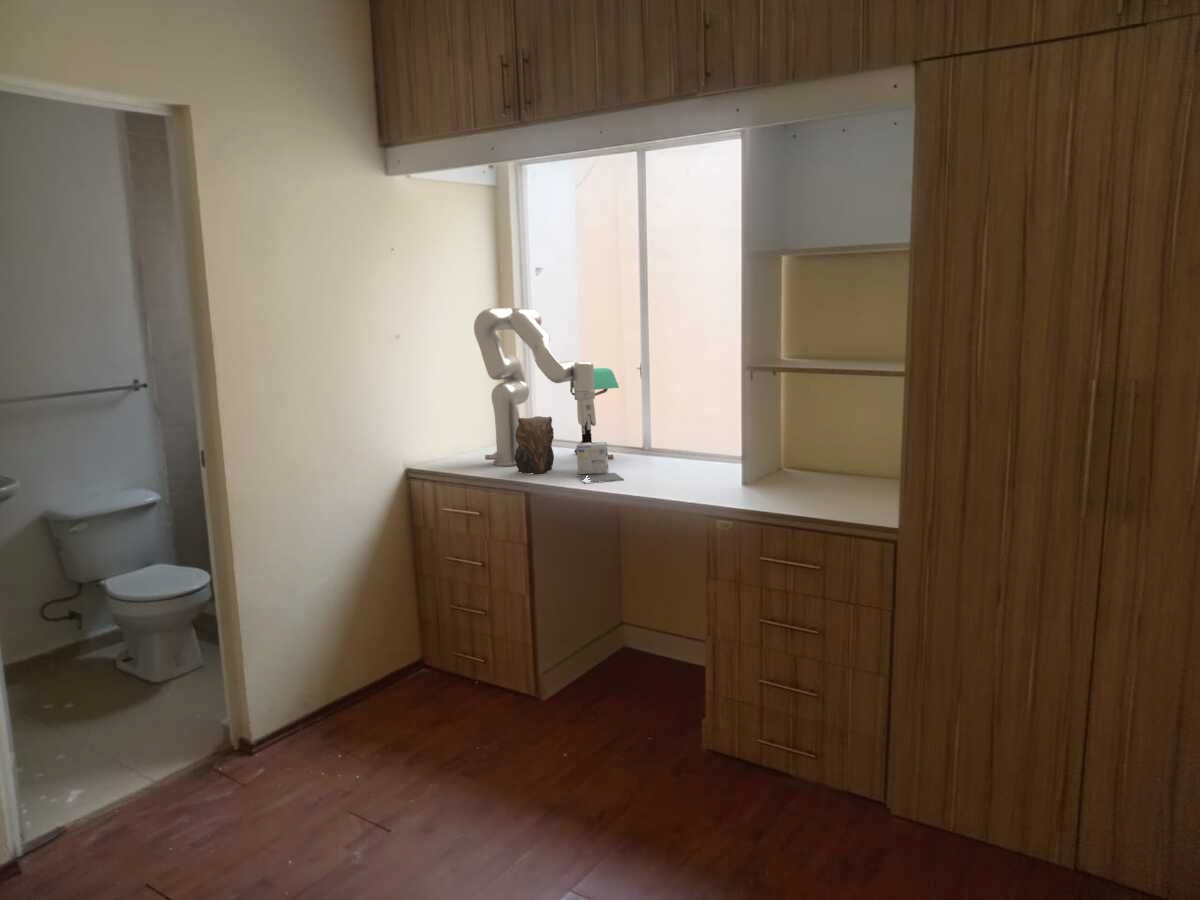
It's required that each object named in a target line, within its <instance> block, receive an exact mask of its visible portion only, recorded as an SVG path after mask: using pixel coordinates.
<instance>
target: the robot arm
mask: <svg viewBox="0 0 1200 900" xmlns="http://www.w3.org/2000/svg"><path fill="white" fill-rule="evenodd" d="M541 325H542V317H541V315H540V313H539V312H538V311H537V310H535V309H532V308H521V307H520V308H517V307H492V308H486V309H484V310H482V311H481V312H479V313H478V315H477V316H476V318H475V320H474V323H473V332H474V333H473V334H474V336H475V338H476V341H477V344H478V347H479V350H480V352H481V357H482V361H483V364H484V367H485V369H486V370H485V371H486V372H487V375H488V376H489V378H490V379H492V380H495V381H501V380H503V382H501V383H498V384H497V385H495V386H494V388H493V389H492V390H491V402H492V406H493V407H492V408H493V413H494V424H495V441H496V444H495V445H496V451H495V452H494V453H493V454H485V455H484V459H485V460H487V461H492V460H493V465H494V464H495V465H494V466H499V467H513V466H517V464H516V461H515V460H514V457H515V454H516V449H517V448H518V446H519V444H518V442H517V441H516V440H515V439H516V437H515V434H516V429H517V427H518V425H519V422H518V418H521V417H520V412H519V410H518V405H520V404H521V405H522V404H523V403H525V402H527V400H528V398H529V396H530V389H529V385H528V382H527V377H526V375H525V371H524V368H523V365H522V363H521V361H520V359H519V358H518V357H517V356H516V355H514V354H512V353H506V352H505V350H504V348H503V344H502V341H501V340H500V338H499V336H498V335H497V334H496V331H505V330H507V331H508V330H509V331H511V330H512V331H513V332H515V333H516V335H518V337H519V338H520V339H521V340H522V341H523V343H524V344H525V345H526V346H527V347H528V348H529V350H531V352H532V356H533V359H534V362H535V364H536V365H537V367H538V369H539V370H540V371H541V372H542V373H543V375H544V376H545V377H546V378H547V379H548V380H549V381H551V383H554V384H561V383H566V382H571V381H572V380H574V388H573V393H574V395H573V396H574V401H576V407H577V408H576V411H577V413H576V415H577V423H578V424H579V425H580V426H581V427H580V428H581V441H582V443H593V442H592V426H593V427H595V426H596V425H597V422H596V421H597V420H596V409H595V402H594V400H596V399H595V398H596V396H595V393H596V392H595V391H596V390H595V389H594V369H595V367H594V363H593V362H592V361H587V360H586V361H572V360H564V361H558V360H557V359H556V357H555V356H554V355H553V354H552V352H551V351H550V349H549V342H550V341H551V340H550V339H551V337H550V335H549V334H548V333H547V332H546V331H545V329H543V327H542V326H541Z"/></svg>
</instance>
